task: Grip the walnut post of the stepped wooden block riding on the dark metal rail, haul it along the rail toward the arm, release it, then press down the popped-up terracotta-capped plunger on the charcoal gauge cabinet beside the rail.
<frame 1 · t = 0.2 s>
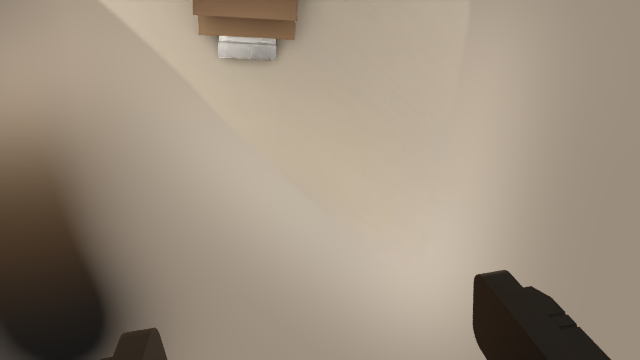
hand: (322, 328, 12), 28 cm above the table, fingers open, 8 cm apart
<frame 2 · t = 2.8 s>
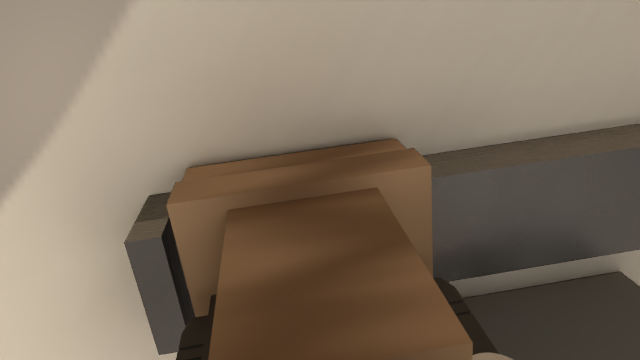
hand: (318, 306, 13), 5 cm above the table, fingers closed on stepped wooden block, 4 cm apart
rail: (435, 204, 17), on the table
stepped wooden block: (320, 314, 12), point 5 cm above the table, slide at 0.0 cm, touching gripper
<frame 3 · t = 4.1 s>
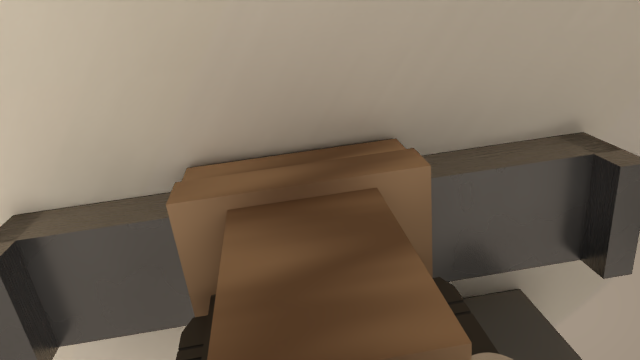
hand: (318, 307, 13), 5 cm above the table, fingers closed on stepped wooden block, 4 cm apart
rail: (317, 222, 17), on the table
stepped wooden block: (320, 314, 12), point 5 cm above the table, slide at 4.5 cm, touching gripper
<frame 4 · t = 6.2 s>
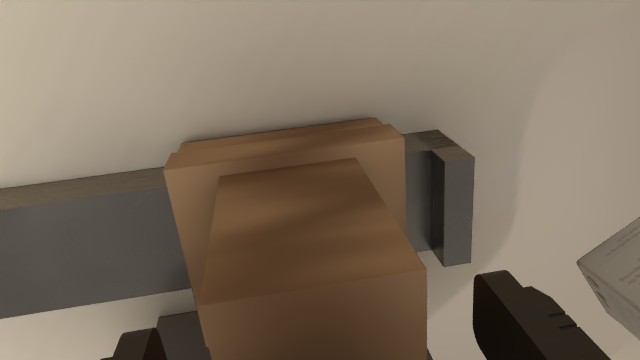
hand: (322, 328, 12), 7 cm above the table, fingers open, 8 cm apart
rail: (185, 214, 18), on the table
stepped wooden block: (303, 271, 14), point 5 cm above the table, slide at 9.0 cm
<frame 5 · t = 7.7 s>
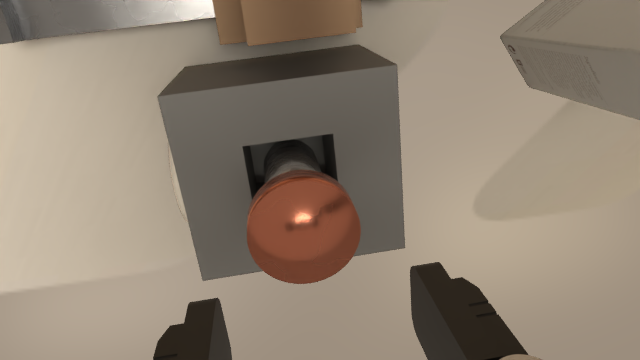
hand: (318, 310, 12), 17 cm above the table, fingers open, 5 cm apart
gauge cabinet: (284, 130, 28), on the table
skincare box: (552, 27, 28), on the table
plunger: (296, 194, 20), point 10 cm above the table, slide at 0.0 cm
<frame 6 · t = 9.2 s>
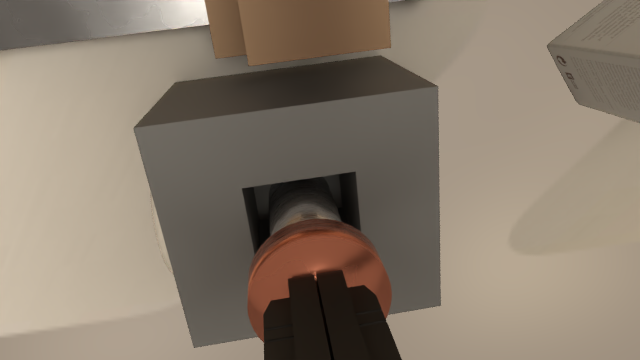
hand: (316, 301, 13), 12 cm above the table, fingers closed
gauge cabinet: (291, 155, 24), on the table
skincare box: (607, 34, 24), on the table
plunger: (308, 239, 16), point 9 cm above the table, slide at 0.8 cm, touching gripper
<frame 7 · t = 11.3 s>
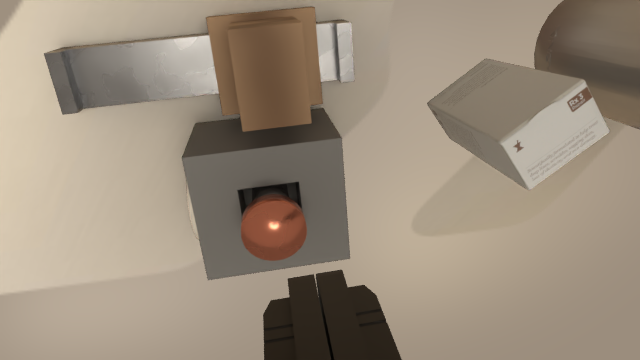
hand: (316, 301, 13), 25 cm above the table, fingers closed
gauge cabinet: (267, 169, 38), on the table
skincare box: (466, 96, 39), on the table
plunger: (271, 206, 32), point 7 cm above the table, slide at 2.4 cm
rail: (211, 61, 34), on the table
stepped wooden block: (268, 65, 30), point 5 cm above the table, slide at 9.0 cm
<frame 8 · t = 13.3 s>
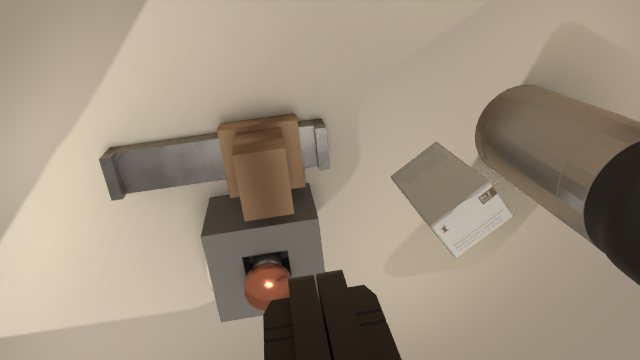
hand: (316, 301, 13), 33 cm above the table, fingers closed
gauge cabinet: (266, 229, 49), on the table
skincare box: (422, 169, 49), on the table
plunger: (267, 267, 42), point 7 cm above the table, slide at 2.4 cm
rail: (221, 152, 45), on the table
stepped wooden block: (263, 164, 41), point 5 cm above the table, slide at 9.0 cm
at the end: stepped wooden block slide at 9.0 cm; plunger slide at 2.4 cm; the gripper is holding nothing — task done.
